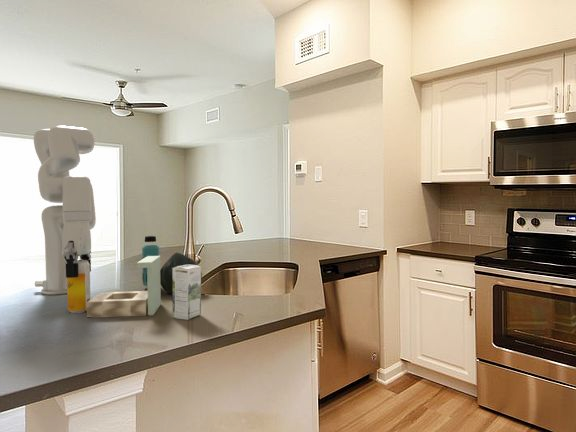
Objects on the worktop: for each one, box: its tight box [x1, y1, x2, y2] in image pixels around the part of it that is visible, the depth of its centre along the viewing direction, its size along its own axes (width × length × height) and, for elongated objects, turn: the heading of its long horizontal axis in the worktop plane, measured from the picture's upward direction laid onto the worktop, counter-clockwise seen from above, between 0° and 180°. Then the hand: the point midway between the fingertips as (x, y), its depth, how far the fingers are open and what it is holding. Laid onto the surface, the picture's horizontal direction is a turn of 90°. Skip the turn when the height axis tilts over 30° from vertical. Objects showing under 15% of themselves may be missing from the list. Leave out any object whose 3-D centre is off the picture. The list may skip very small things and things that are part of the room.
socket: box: [86, 290, 148, 318], centre depth 117 cm, size 16×12×4 cm
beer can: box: [66, 259, 92, 314], centre depth 117 cm, size 6×6×15 cm
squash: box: [160, 252, 203, 295], centre depth 142 cm, size 14×15×15 cm
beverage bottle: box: [141, 235, 160, 287], centre depth 148 cm, size 6×7×20 cm
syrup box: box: [172, 265, 202, 321], centre depth 111 cm, size 6×6×14 cm
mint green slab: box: [136, 255, 162, 316], centre depth 118 cm, size 4×14×16 cm, turn 8°
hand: (79, 274), depth 117 cm, fingers open, 9 cm apart
